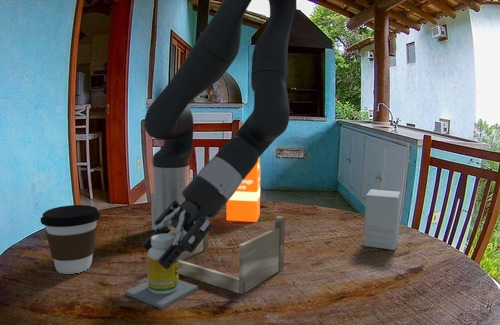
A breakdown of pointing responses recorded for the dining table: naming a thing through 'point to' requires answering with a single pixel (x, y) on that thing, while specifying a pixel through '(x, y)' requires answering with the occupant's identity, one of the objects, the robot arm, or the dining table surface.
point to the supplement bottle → (157, 274)
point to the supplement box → (382, 219)
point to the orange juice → (246, 198)
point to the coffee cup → (71, 236)
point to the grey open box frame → (242, 261)
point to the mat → (160, 300)
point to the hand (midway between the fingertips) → (154, 257)
